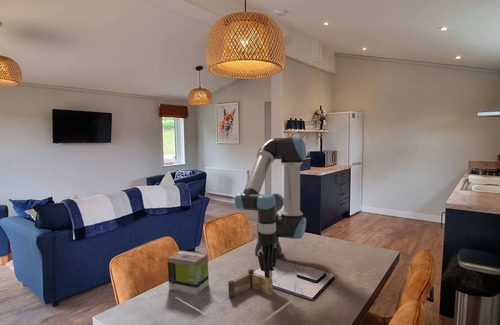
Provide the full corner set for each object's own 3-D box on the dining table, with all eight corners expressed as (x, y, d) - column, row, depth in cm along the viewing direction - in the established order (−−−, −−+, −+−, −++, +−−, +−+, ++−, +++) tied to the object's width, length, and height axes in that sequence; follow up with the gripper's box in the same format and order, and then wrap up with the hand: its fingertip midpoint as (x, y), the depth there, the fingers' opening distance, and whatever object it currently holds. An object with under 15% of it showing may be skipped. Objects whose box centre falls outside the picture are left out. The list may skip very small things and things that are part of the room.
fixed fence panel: (227, 298, 126) (227, 282, 126) (247, 287, 135) (246, 272, 134) (231, 300, 125) (231, 283, 124) (251, 289, 133) (250, 273, 133)
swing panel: (247, 285, 135) (247, 270, 135) (251, 283, 137) (250, 268, 136) (269, 295, 126) (269, 279, 126) (273, 293, 128) (272, 277, 127)
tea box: (209, 285, 138) (208, 253, 136) (196, 296, 129) (195, 262, 127) (182, 280, 144) (180, 249, 143) (168, 290, 135) (166, 257, 134)
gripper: (269, 226, 136) (271, 276, 139) (250, 233, 127) (252, 287, 130) (283, 229, 131) (284, 281, 134) (264, 237, 122) (266, 293, 125)
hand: (268, 284), depth 132 cm, fingers closed
